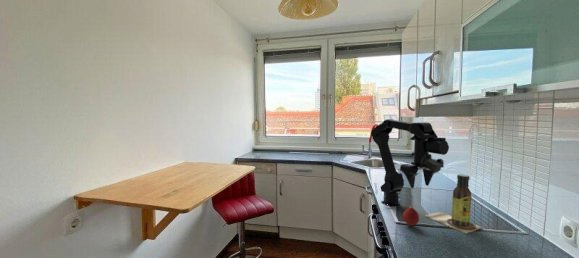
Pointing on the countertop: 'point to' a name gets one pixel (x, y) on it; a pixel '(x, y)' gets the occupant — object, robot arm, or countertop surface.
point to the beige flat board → (446, 220)
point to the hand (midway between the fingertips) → (419, 186)
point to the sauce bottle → (461, 202)
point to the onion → (410, 216)
